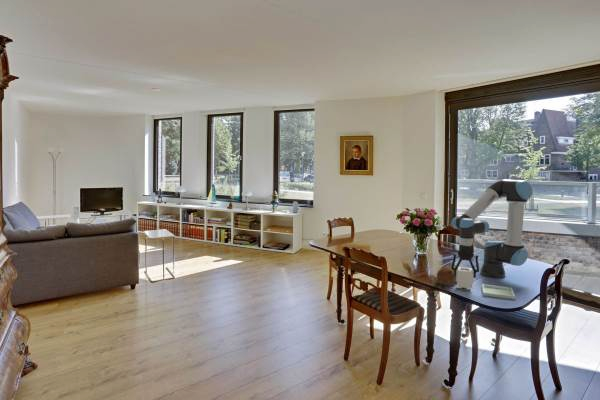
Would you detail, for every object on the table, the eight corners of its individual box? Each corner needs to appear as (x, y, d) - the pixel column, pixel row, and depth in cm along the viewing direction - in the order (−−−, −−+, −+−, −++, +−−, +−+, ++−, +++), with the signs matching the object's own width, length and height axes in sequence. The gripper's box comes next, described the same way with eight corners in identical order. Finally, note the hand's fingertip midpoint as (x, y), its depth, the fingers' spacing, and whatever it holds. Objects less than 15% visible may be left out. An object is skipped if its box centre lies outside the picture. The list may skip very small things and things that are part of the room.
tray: (481, 287, 231) (481, 284, 230) (511, 290, 224) (511, 287, 224) (483, 295, 216) (483, 292, 216) (515, 299, 210) (515, 296, 210)
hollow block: (457, 282, 232) (457, 266, 231) (471, 284, 229) (472, 268, 228) (457, 286, 225) (457, 270, 224) (471, 288, 222) (472, 271, 221)
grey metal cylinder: (460, 287, 230) (461, 269, 228) (467, 288, 228) (468, 270, 227) (460, 289, 226) (461, 270, 225) (467, 290, 225) (468, 271, 224)
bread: (452, 287, 231) (453, 271, 230) (435, 283, 239) (436, 267, 237) (463, 280, 245) (464, 265, 244) (446, 276, 252) (447, 262, 251)
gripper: (446, 244, 225) (445, 281, 228) (486, 247, 217) (484, 286, 219) (447, 241, 232) (446, 278, 234) (485, 244, 224) (483, 282, 226)
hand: (464, 281), depth 227 cm, fingers closed on hollow block, 8 cm apart
